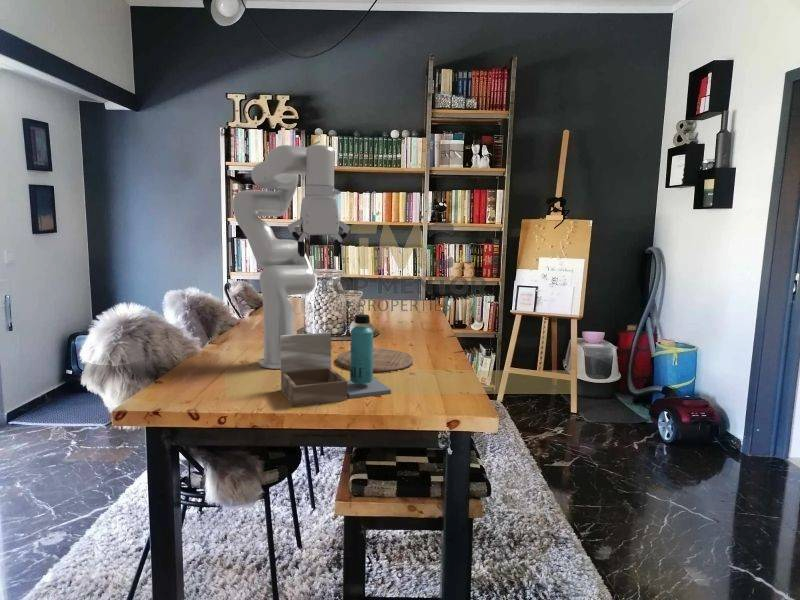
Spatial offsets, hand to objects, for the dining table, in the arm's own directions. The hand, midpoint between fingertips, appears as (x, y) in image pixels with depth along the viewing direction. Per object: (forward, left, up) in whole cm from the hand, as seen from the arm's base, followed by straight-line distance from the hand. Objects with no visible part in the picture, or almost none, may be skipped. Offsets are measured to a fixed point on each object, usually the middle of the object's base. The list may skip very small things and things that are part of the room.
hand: (319, 256), depth 144 cm
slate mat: (+9, +10, -36) cm, 39 cm away
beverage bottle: (+9, +10, -35) cm, 38 cm away
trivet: (-16, +24, -37) cm, 47 cm away
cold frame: (+9, -4, -36) cm, 38 cm away
